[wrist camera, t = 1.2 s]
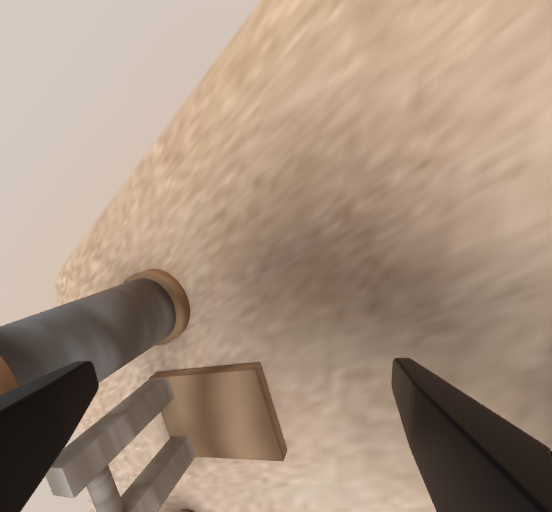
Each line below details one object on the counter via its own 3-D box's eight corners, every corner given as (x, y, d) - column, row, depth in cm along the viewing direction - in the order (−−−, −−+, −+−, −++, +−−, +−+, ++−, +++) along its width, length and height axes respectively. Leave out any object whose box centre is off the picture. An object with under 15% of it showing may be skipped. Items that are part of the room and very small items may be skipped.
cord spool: (202, 319, 23) (22, 449, 11) (156, 348, 26) (-34, 481, 14) (161, 256, 24) (-61, 317, 11) (119, 290, 26) (-101, 371, 14)
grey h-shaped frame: (259, 362, 22) (179, 479, 13) (287, 450, 23) (229, 618, 14) (156, 371, 26) (39, 466, 17) (183, 446, 27) (85, 575, 18)
